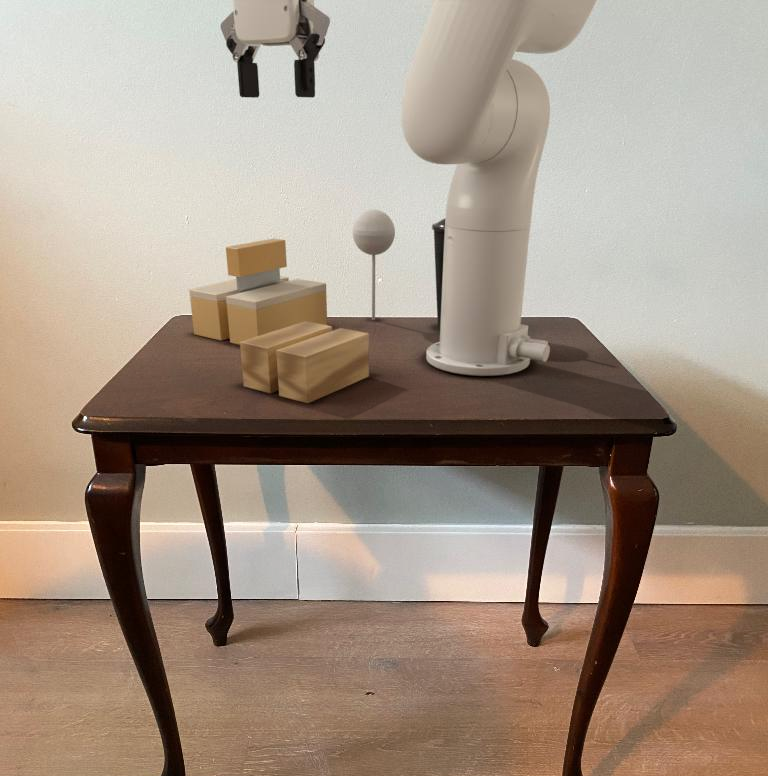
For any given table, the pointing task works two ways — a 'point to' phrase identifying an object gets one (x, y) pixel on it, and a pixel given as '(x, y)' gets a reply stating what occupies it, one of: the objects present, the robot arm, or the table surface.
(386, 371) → the table surface
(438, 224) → the drinking cup
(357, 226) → the lollipop
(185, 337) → the table surface
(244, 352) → the split wooden block
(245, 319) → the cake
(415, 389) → the table surface
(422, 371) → the table surface
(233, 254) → the knife
